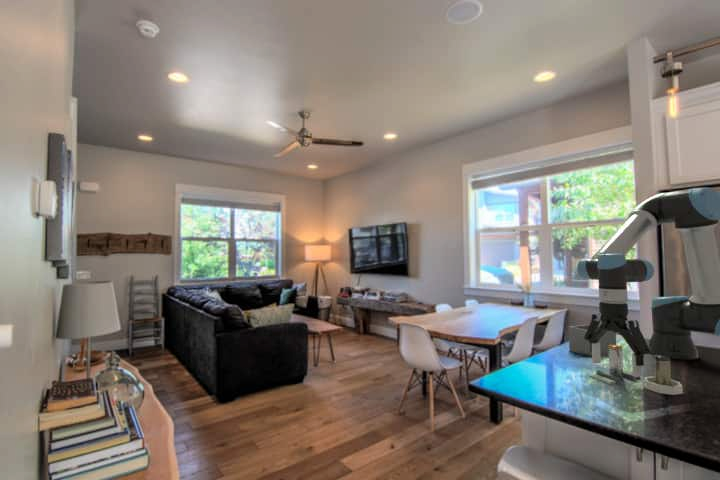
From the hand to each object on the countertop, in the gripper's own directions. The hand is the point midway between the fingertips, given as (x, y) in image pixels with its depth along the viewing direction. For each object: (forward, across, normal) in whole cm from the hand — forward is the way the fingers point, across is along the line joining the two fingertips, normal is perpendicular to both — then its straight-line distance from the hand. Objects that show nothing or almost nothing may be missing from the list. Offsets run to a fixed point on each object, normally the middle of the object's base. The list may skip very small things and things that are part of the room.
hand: (615, 369), depth 115 cm
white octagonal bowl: (+4, +11, +4) cm, 12 cm away
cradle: (+4, 0, 0) cm, 4 cm away
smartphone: (+5, -29, +23) cm, 37 cm away
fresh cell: (+3, 0, 0) cm, 3 cm away
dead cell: (+4, +11, +5) cm, 12 cm away
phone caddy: (+4, -29, +23) cm, 37 cm away
